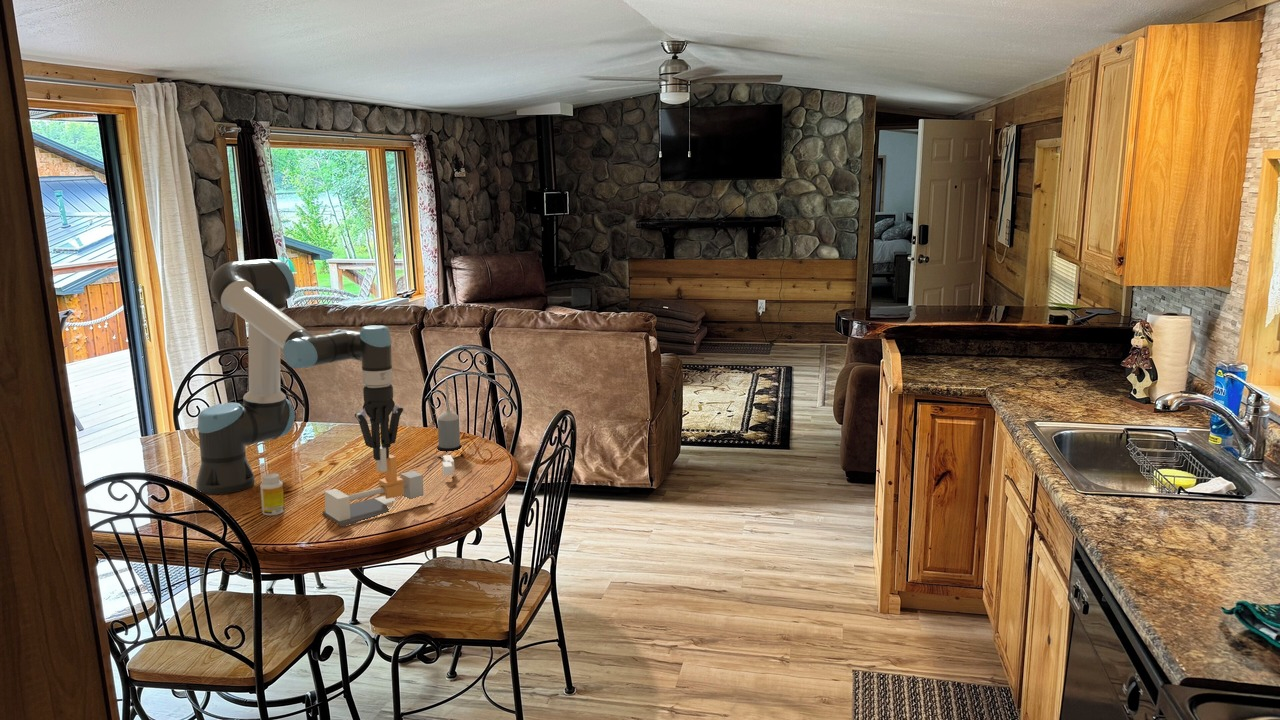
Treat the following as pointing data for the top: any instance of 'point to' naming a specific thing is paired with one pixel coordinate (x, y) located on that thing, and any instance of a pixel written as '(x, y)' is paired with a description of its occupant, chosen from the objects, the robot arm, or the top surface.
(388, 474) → the orange rod slider
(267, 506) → the supplement bottle
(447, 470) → the white blocky piece
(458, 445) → the grey bottle
